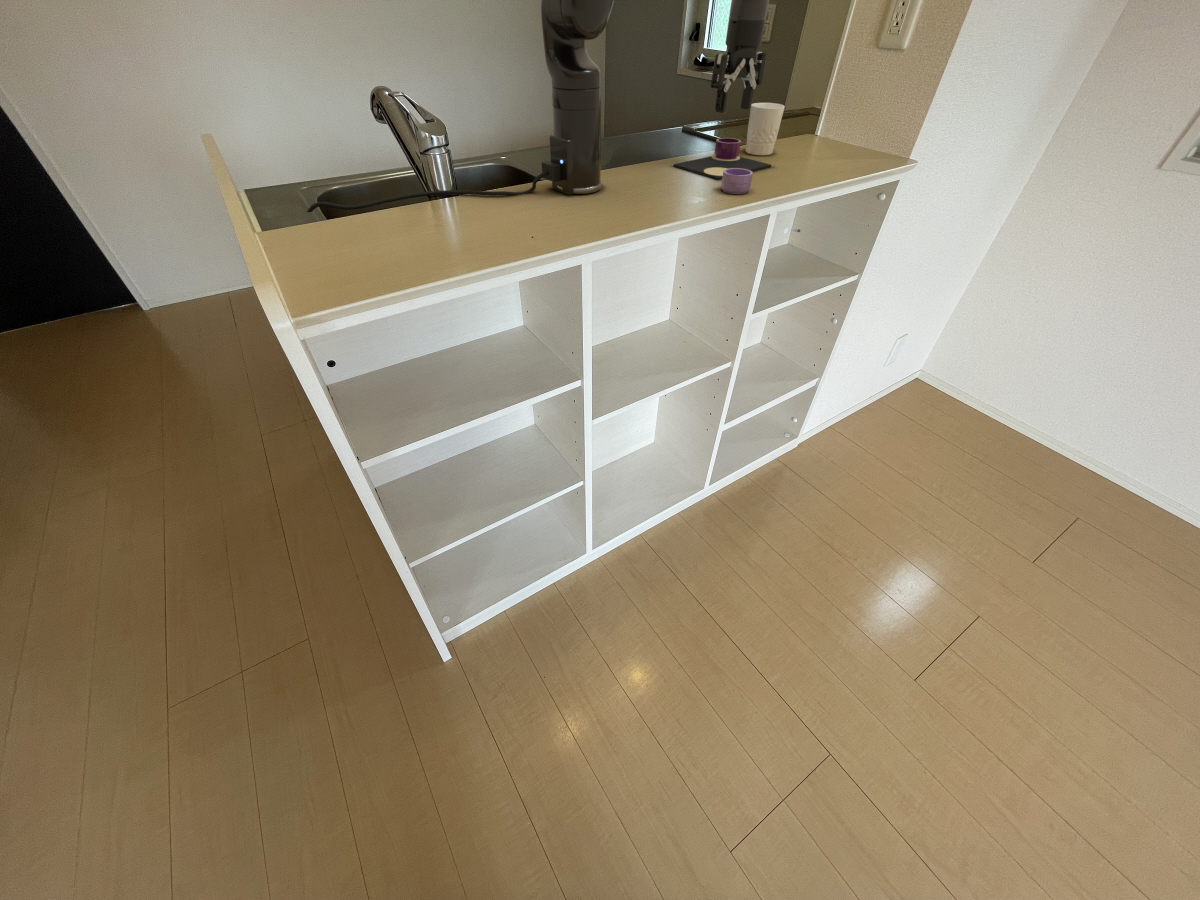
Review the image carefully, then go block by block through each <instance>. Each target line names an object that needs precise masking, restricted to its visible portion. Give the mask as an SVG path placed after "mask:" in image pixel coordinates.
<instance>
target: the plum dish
mask: <svg viewBox="0 0 1200 900" xmlns="http://www.w3.org/2000/svg"><path fill="white" fill-rule="evenodd" d="M741 144H742V140H740V139H739V138H733V137H719V138H717V139H716V140H715V144H714V146H715V147H714V154H713V155H716V158H719V159H725V160H731V159H736V158H737V156H739V157H740V150H741Z"/></svg>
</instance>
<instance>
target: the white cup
mask: <svg viewBox="0 0 1200 900" xmlns="http://www.w3.org/2000/svg"><path fill="white" fill-rule="evenodd" d="M785 107H786V106H785V105H784V104H781V103H775V102H755V103H751V105H750V111H749V116H748V124H747V134H746V142H745V143H746V144H745V152H746V154H749V155H753V156H769V155H772V154H773V153H774V149H775V145H776V141H777V139H778V134H779V132H780V128H781V123H782V119H783V116H784V111H785Z"/></svg>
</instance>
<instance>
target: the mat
mask: <svg viewBox="0 0 1200 900" xmlns="http://www.w3.org/2000/svg"><path fill="white" fill-rule="evenodd" d="M673 167H674V168H677V169H681V170H684V171H686V172H691V173H693V174H696V175H701V176H703V177H707V178H710V179H713V180H717V181H719V180H722V177H723V171H724V170H725V169H729V168H741V169H747V170H750V171H752V172H753V173H754V172H756V171H761V170H765V169H769V168H771V167H772V164H770V163H766V162H761V161H758V160H754V159H751V158H746V157H743V156H740V155H739V156H737V158H736V159H731V160H725V159H719V158H716V155H714V154H712V155H710V156H705V157H701V158H696V159H691V160H686V161H683V162H678V163H673Z"/></svg>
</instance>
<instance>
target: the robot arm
mask: <svg viewBox="0 0 1200 900" xmlns="http://www.w3.org/2000/svg"><path fill="white" fill-rule="evenodd" d="M614 3H615V0H540V19H541V20H540V21H541V31H542V42H543V51H544V53H543V54H544V60H545V65H546V69H547V72H548V74H549V78H550V89H551V108H552V109H551V110H552V111H551V112H552V128H553V129H552V131H553V133H552V134H550V135H549V154H550V160H545V161H541V173H539V174H538V175H537V176H536V177H534V179H533V181H532V184H531V185H532V186H531V187H530V188H529V189H527V190H525V191H518V192H517V191H506V190H505V191H502V190H501V191H494V190H493V191H489V190H487V191H486V190H470V189H456V190H455V189H453V190H452V189H450V190H449V189H448V190H447V189H446V190H429V191H421V192H413V193H406V194H401V195H396V196H395V195H394V196H390V197H385V198H380V199H376V200H373V201H368V202H363V203H358V204H349V205H348V204H347V205H346V204H339V203H335V202H329V201H318V202H317V201H316V202H315V203H312V204H311V205H310V206H309V208H307V210H306V213H313V211H315V209H317V208H319V207H329V208H334V209H338V210H346V211H348V210H349V211H351V210H359V209H366V208H370V207H374V206H378V205H382V204H386V203H391V202H397V201H401V200H407V199H414V198H420V197H421V198H422V197H429V196H441V195H442V196H443V195H446V196H447V195H475V196H490V197H491V196H492V197H493V196H508V197H515V196H521V195H527V194H531V193H533V192H534V191H535V190H536V188H537V183H538V182H539V181H540V180H541V179H546V180H547V181H549V182H551V189H553V190H556V191H558V192H561V193H562V194H566V195H567V196H570V195H585V194H592V193H596V192H598V191H600V190H601V189H602V179H601V178H602V174H601V173H602V167H601V166H602V146H601V145H602V141H601V140H602V139H601V138H602V71H601V68H600V67H599V65H597V64H596V62H594V60H593V59H591V57H590V55H589V53H588V51H587V45H586V41H591V40H595V39H596V38H598V37H599V36H600V35H602V33H603V32H604V30H605V28H606V27H607V25H608V22H609V20H610V17H611V14H612V11H613V7H614ZM769 4H770V0H731V2H730V9H729V16H728V23H727V29H726V36H725V45H726V46H727V51H726V53H716V54H715V57H714V64H713V69H712V74H711V75H712V76H711V82H710V88H711V89H714V90H715V91H716V97H715V104H714V105H715V106H714V107H715V112H716V113H720V114H721V113H722V114H723V113H725V112H726V107H727V106H726V105H727V99H728V95H729V93H728V90H729V88H730V86H731V85H732V84H733V83H735V81H736V79H740V80H742V83H743V86H744V88H743V89H742V90H743V91H742V97H741V102H740V108H741V109H742V110H749V109H751V104H752V102H753V95H754V91H755V90H756V88H757V87H758V86H761V85H762V83H763V78H764V71H765V66H766V58H767V52H766V51H759V50H757V49H758V48H759V47H761V45H762V43H763V37H764V32H765V26H766V20H767V14H768V9H769Z"/></svg>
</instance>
